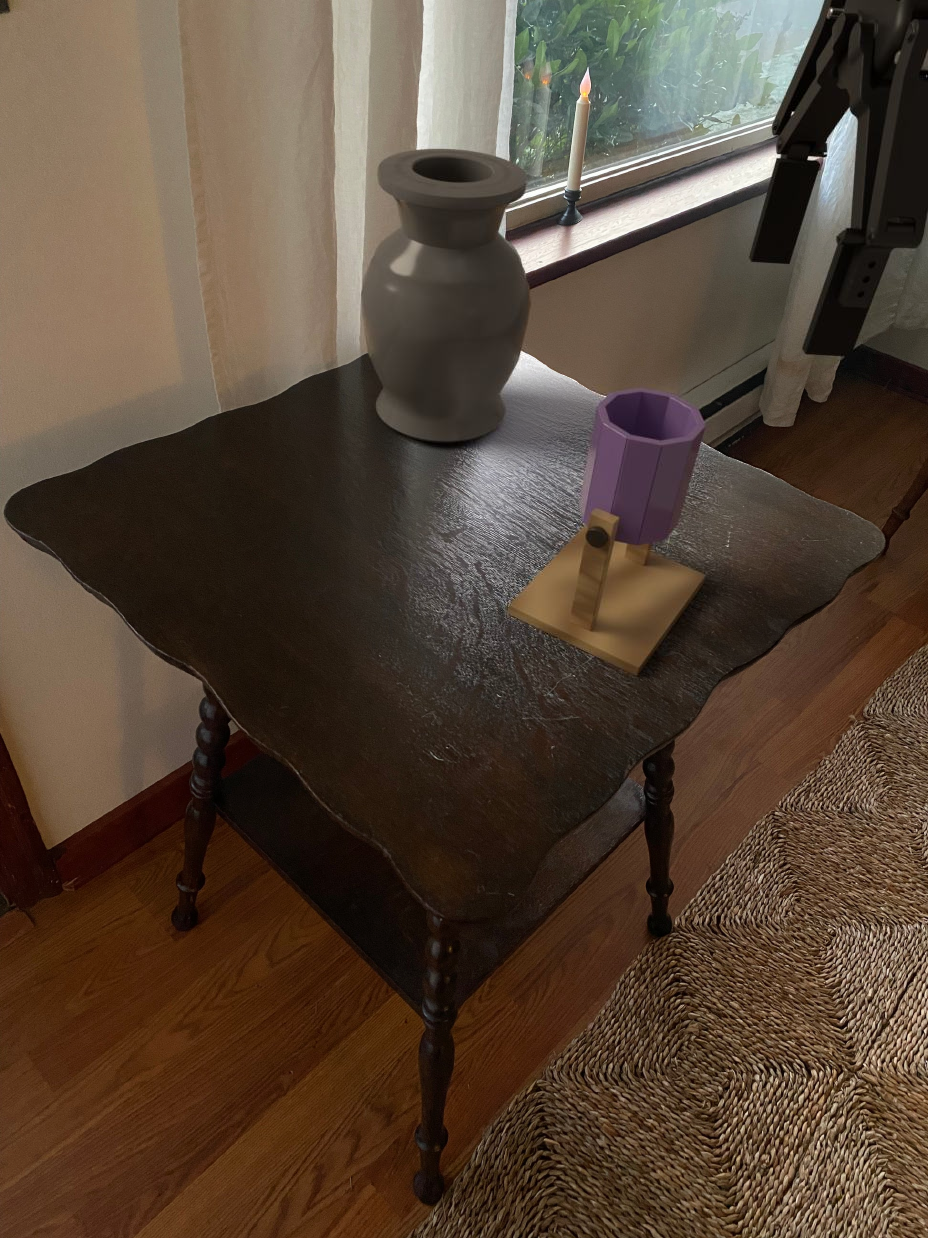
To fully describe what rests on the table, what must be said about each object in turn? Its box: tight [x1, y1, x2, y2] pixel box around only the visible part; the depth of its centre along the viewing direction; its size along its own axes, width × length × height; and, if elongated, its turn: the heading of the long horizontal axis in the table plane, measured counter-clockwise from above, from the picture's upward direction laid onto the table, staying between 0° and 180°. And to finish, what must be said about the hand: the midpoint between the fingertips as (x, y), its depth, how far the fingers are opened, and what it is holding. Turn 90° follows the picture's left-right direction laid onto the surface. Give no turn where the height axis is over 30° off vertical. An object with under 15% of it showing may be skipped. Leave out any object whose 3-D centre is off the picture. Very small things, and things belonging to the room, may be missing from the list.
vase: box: [360, 148, 532, 444], centre depth 89 cm, size 17×17×25 cm
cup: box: [578, 387, 707, 546], centre depth 68 cm, size 8×9×9 cm
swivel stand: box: [507, 508, 707, 677], centre depth 73 cm, size 12×14×12 cm
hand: (794, 303), depth 58 cm, fingers open, 13 cm apart
